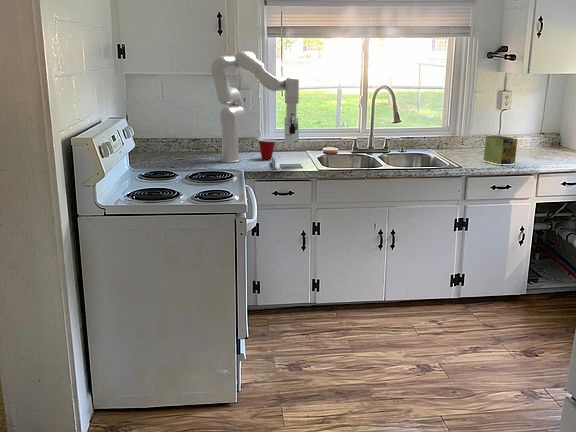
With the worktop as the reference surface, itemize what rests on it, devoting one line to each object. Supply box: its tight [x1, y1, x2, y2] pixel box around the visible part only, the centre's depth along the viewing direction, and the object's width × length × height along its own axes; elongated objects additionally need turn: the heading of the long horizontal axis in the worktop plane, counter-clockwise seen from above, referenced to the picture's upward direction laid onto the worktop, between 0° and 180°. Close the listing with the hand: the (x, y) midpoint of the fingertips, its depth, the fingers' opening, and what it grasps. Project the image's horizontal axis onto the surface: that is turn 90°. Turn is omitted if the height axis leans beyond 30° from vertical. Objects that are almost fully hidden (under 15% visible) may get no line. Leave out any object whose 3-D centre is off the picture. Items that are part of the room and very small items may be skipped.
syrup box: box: [283, 116, 299, 145], centre depth 332 cm, size 6×6×14 cm
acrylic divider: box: [269, 154, 278, 171], centre depth 336 cm, size 3×20×5 cm, turn 5°
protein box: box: [483, 135, 518, 164], centre depth 350 cm, size 10×15×16 cm
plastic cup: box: [258, 138, 277, 160], centre depth 359 cm, size 11×11×12 cm
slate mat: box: [279, 163, 304, 169], centre depth 338 cm, size 12×12×1 cm
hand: (291, 132), depth 333 cm, fingers closed on syrup box, 7 cm apart
